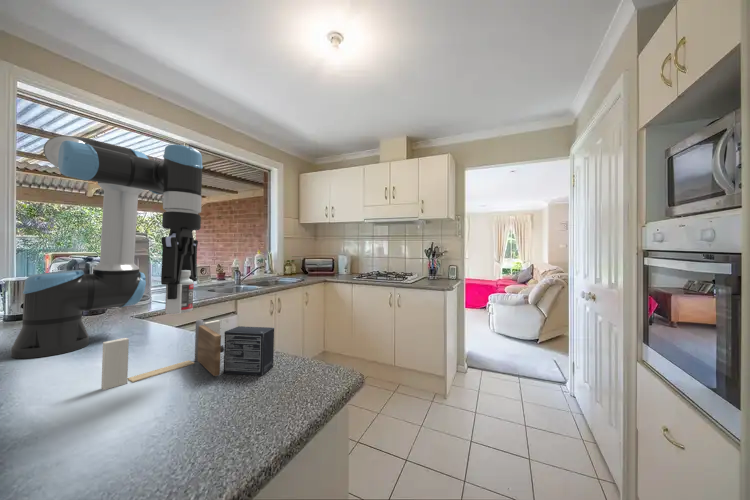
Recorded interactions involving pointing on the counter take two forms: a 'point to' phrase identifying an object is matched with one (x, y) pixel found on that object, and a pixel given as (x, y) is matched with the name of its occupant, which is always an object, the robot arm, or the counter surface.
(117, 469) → the counter surface
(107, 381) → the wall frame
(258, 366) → the small box
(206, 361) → the door
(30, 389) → the counter surface
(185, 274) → the pill bottle
